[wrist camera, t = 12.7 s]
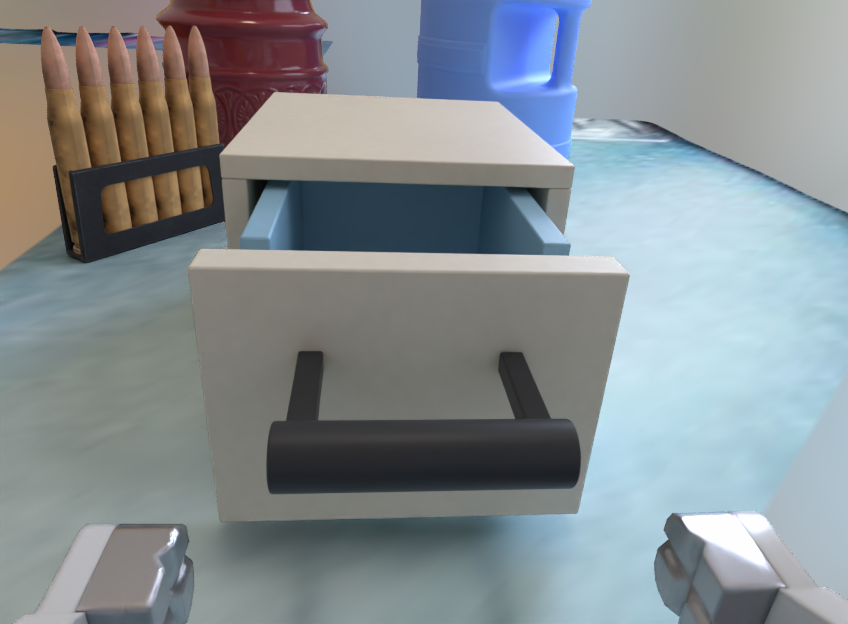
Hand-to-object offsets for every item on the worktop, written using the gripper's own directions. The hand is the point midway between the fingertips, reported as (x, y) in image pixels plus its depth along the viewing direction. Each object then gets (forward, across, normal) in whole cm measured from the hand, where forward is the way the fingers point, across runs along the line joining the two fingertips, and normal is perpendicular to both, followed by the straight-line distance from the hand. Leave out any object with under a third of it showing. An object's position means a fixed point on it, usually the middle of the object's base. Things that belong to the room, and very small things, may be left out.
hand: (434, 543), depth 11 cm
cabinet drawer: (+10, 0, +5) cm, 11 cm away
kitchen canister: (+48, +11, +6) cm, 49 cm away
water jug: (+56, -12, +6) cm, 57 cm away
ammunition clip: (+31, +14, +6) cm, 35 cm away
